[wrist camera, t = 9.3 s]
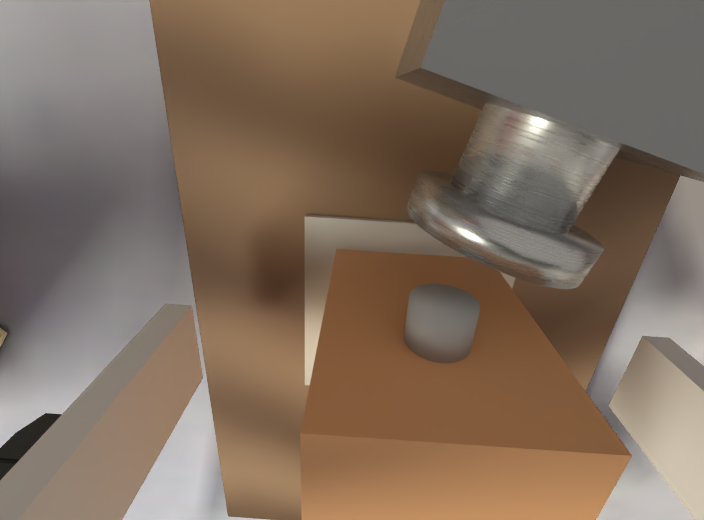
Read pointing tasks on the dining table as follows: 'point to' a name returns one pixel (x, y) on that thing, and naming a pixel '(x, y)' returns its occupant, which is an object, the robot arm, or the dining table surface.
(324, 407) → the block
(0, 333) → the milk carton
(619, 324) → the dining table surface
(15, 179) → the dining table surface
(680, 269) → the dining table surface
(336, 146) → the base
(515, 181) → the shaft
